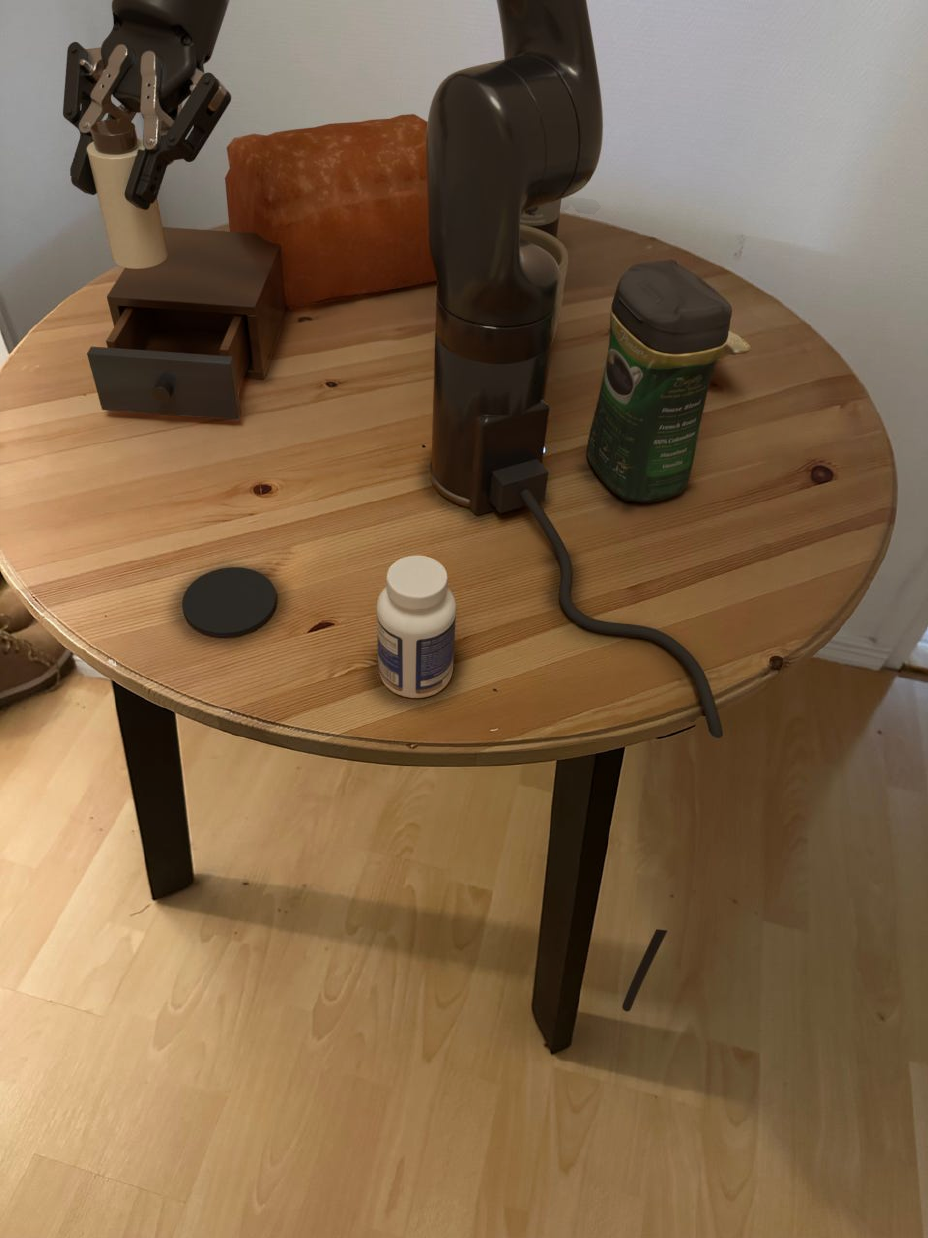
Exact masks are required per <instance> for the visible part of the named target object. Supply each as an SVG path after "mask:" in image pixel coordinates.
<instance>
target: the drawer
mask: <svg viewBox="0 0 928 1238" xmlns="http://www.w3.org/2000/svg"><path fill="white" fill-rule="evenodd" d="M105 342H106V347H103V346H90V347H89V349H88V350H87V352H86V355H87V359H88V363H89V366H90V371H91V374H92V378H93V381H94V385H95V389H96V392H97V396H98V400H99V403H100V407H101V410H102V411H110V412H111V411H112V412H124V413H136V414H153V415H167V416H178V417H181V416H182V417H193V418H195V417H196V418H208V419H222V420H223V419H224V420H235V421H237V420H240V417H241V414H242V408H241V401H240V394H239V392H240V389H241V387H242V384H243V381H244V380H245V378H244V377H245V374H246V371H247V369H248V366H249V363H250V361H251V358H252V352H251V344H250V336H249V328H248V320H247V315H242V314H228V313H214V312H200V311H186V310H171V309H157V308H143V307H129V306H126V308H125V310H124V311H123V313H122V315H121V316H120V318H119V320H118V321H117V323H116V325H115V327H114V326H113V328H112V330H111V332H110V333H109V335H108V337H107V339H106V340H105Z"/></svg>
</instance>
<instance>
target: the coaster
mask: <svg viewBox="0 0 928 1238" xmlns="http://www.w3.org/2000/svg"><path fill="white" fill-rule="evenodd" d="M277 599H278V598H277V592H276V589H275V586H274V584H273V582H272V581H271V580H270V579H269V578H268V577H267V576H265V575H264V574H263V573H261V572H260V571H257V570H254V569H251V568H247V567H240V566H231V567H229V566H228V567H222V568H218V569H215V570H211V571H209V572H207V573H204V574H203V575H200V576H199V577H198V578H196V579H195V580H194V581H192V583H190V584H189V586H188V587H187V588H186V590H185V592H184V593H183V596H182V601H181V606H182V607H181V608H182V609H181V610H182V613H183V617H184V618H185V620H186V622H187V624H188V625H189V626H190V627H191V628H193V629H194V630H195V631H197V632H198V633H200V634H202V635H205V636H208V637H212V638H219V639H229V638H236V637H237V638H238V637H241V636H245V635H248V634H250V633H252V632H255V631H257V630H259V629H260V628H261V627H263V626H264V625H266V623H267V622H268V621H269V620H270V619H271V618H272V616H273V614H274V613H275V610H276V608H277V603H278V602H277V601H278V600H277Z"/></svg>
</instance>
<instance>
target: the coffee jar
mask: <svg viewBox="0 0 928 1238" xmlns="http://www.w3.org/2000/svg"><path fill="white" fill-rule="evenodd" d="M732 314H733V307H732V305H731V303H730V302H729V301H728V300H727V299H726V297H723V295H721V294H720V293H719V292H718V291H717V290H716V289H715V288H714V287H712V286H711V285H710V284H709V283H707V282H706V281H705V280H704V279H703V278H702V277H700V276H699V275H698V274H696V273H694V272H693V271H691V270H689V269H688V268H686V267H684V266H682V265H680V264H678V262H677V260H674V259H668V260H666V259H665V260H655V261H649V262H643V263H637V264H632V265H631V266H630V267H629V268H628V269H627V270H626V271H625V272H623V274H622V275H621V276H620V279H619V281H618V283H617V286H616V289H615V293H614V296H613V300H612V303H611V308H610V315H609V341H608V350H607V356H606V360H605V361H606V362H605V366H604V371H603V376H602V381H601V385H600V390H599V393H598V398H597V403H596V406H595V411H594V414H593V419H592V422H591V428H590V431H589V436H588V441H587V446H586V457H587V460H588V462H589V464H590V466H591V467H592V469H593V471H594V472H595V474H596V475H597V476H598V477H599V479H600V481H602V483H603V484H604V485H605V486H606V487H607V488H608V489H609V490H610V491H611V492H612V494H614V495H615V496H616V497H618V498H620V499H621V500H624V501H628V502H635V503H656V502H661V501H664V500H668V499H670V498H673V497H675V496H677V495H679V494H681V493H682V492H683V491H684V490H685V489H686V488H687V486H688V484H689V481H690V476H691V472H692V468H693V464H694V459H695V455H696V448H697V444H698V440H699V439H698V438H699V433H700V427H701V424H702V418H703V415H704V409H705V405H706V400H707V395H708V392H709V387H710V383H711V379H712V377H713V373H714V369H715V367H716V364H717V362H718V361H719V360H718V358H719V357H720V355H721V354H722V352H723V350H724V348H725V346H726V343H727V338H728V333H729V331H730V326H731V318H732Z"/></svg>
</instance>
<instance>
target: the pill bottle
mask: <svg viewBox="0 0 928 1238" xmlns="http://www.w3.org/2000/svg"><path fill="white" fill-rule="evenodd" d="M385 581H386V585H385V587H384V588H383V589H382V590H381V592H380V594H379V596H378V598H377V601H376V634H377V635H376V636H377V662H378V673H379V677H380V680H381V681H382V683H383V685H384V686H385V687H386V688H387V689H388V690H390V691H391V692H392V693H393V694H396V695H398V696H401V697H405V698H410V699H423V698H428V697H430V696H431V697H432V696H434V695H436V694H438V693H439V692H441V691H442V690H444V689H445V688H446V687H447V685H448V683H449V682H450V680H451V678H452V675H453V668H454V658H455V657H454V656H455V655H454V653H455V639H456V638H455V637H456V623H457V622H456V621H457V601H456V598H455V596H454V594H453V592H452V591H451V590H450V588H449V587H448V572H447V570H446V568H445V567H444V565H443V564H442V563H441V562H439V561H438V560H437V559H435V558H432V557H429V556H425V555H408V556H404V557H401V558H400V559H399V558H398V559H397V560H396V561H395V562H393V563H392V564H391V565H390V567H389V568H388V570H387V572H386V580H385Z"/></svg>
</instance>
